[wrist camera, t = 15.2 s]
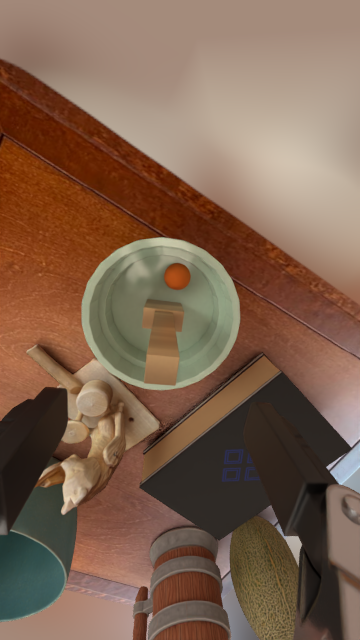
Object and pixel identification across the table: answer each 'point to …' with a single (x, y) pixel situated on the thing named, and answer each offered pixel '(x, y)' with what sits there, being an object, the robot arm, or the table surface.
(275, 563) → the fruit
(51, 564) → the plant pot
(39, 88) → the table surface
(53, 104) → the table surface
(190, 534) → the mug
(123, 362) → the bowl
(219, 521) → the book
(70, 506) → the wooden toy
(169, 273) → the ball
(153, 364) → the stick
